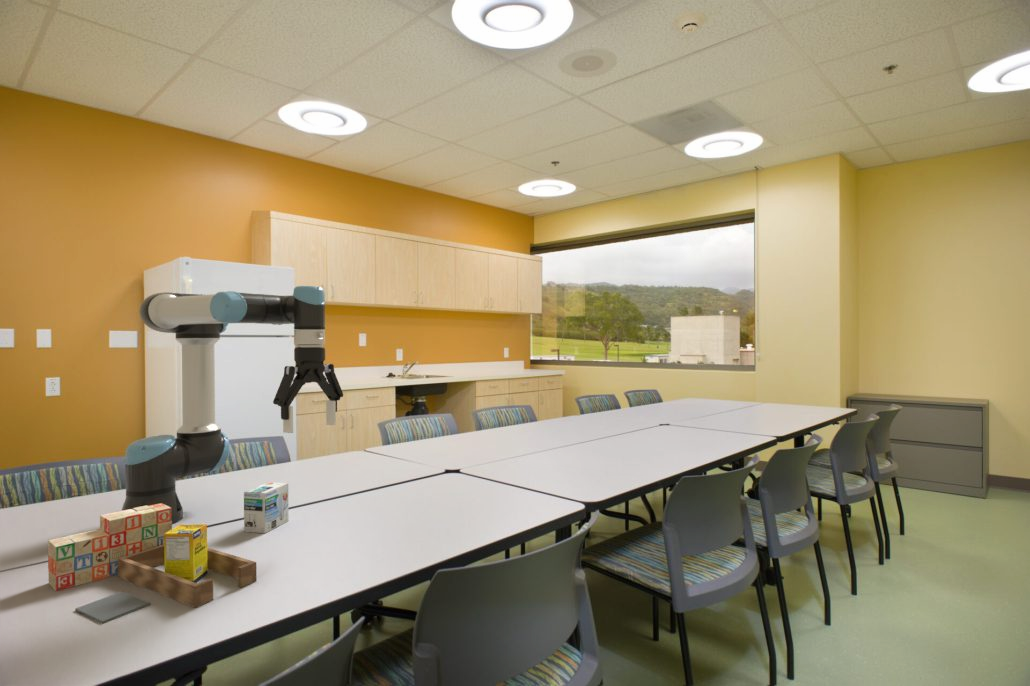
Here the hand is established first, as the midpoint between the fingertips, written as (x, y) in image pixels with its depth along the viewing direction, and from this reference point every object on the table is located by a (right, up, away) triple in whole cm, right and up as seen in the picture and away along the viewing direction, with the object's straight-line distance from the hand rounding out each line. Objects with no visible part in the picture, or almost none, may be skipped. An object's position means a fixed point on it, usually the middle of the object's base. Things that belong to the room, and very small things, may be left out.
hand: (310, 428), depth 142 cm
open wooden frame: (-17, -28, -25) cm, 41 cm away
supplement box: (-17, -29, -25) cm, 42 cm away
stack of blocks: (-36, -29, -20) cm, 50 cm away
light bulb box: (-15, -28, +8) cm, 33 cm away
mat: (-24, -28, -37) cm, 52 cm away
